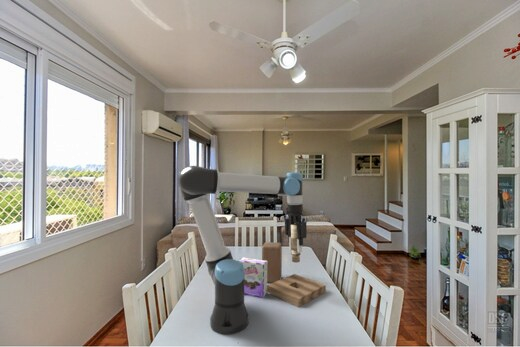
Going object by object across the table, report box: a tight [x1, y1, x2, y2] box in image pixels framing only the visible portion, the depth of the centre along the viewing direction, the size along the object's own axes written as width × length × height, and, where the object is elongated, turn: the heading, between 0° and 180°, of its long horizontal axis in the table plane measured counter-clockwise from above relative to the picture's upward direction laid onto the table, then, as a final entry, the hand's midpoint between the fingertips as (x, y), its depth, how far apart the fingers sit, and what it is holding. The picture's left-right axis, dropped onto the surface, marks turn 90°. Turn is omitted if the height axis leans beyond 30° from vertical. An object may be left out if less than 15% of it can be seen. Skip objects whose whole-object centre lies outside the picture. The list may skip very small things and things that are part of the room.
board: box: [267, 273, 326, 308], centre depth 131 cm, size 22×20×4 cm
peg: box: [290, 224, 302, 263], centre depth 129 cm, size 5×5×18 cm
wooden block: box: [261, 241, 283, 284], centre depth 146 cm, size 10×10×20 cm
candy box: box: [238, 256, 268, 299], centre depth 130 cm, size 14×6×16 cm, turn 68°
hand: (295, 250), depth 129 cm, fingers closed on peg, 4 cm apart
